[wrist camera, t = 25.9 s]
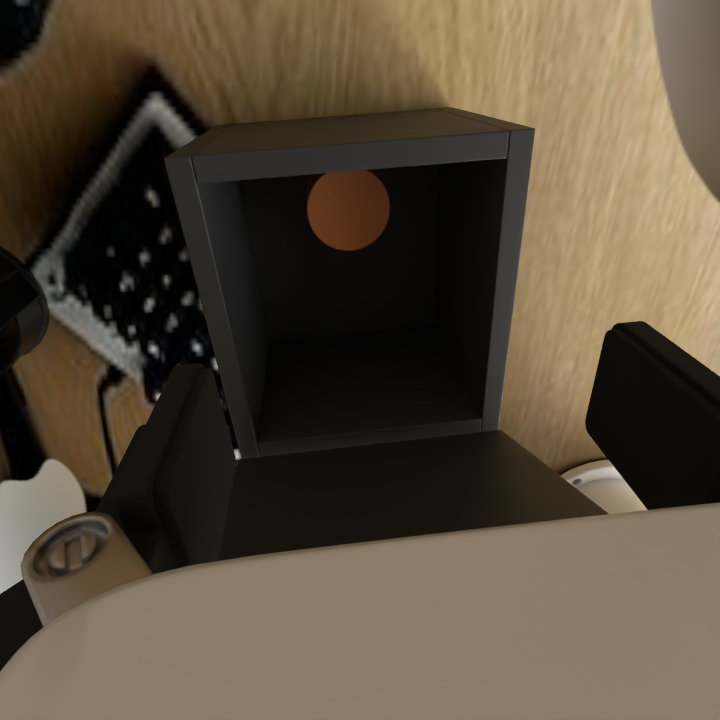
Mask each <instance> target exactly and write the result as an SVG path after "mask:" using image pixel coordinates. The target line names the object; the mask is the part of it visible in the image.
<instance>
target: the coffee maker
mask: <svg viewBox="0 0 720 720" xmlns="http://www.w3.org/2000/svg"><path fill="white" fill-rule="evenodd" d="M534 134H535V129H534V128H531V127H527V126H523V125H519V124H515V123H511V122H507V121H503V120H499V119H495V118H492V117H488V116H484V115H480V114H476V113H472V112H468V111H464V110H460V109H455V108H452V107H451V108H438V109H425V110H412V111H399V112H386V113H372V114H359V115H346V116H333V117H320V118H307V119H294V120H281V121H267V122H254V123H241V124H228V125H217V126H215V127H214V128H212V129H210V130H209V131H207V132H206V133H204V134H202V135H201V136H199V137H198V138H196V139H194V140H193V141H191V142H190V143H188V144H186V145H185V146H183V147H182V148H180V149H178V150H177V151H175V152H174V153H172V154H170V155H169V156H167V157H166V158H164V162H165V165H166V169H167V173H168V177H169V181H170V185H171V188H172V192H173V196H174V200H175V204H176V208H177V212H178V215H179V219H180V223H181V227H182V231H183V235H184V238H185V242H186V246H187V250H188V254H189V258H190V261H191V265H192V269H193V273H194V277H195V281H196V285H197V288H198V292H199V296H200V300H201V304H202V308H203V311H204V315H205V319H206V323H207V327H208V331H209V334H210V338H211V342H212V346H213V350H214V354H215V358H216V361H217V365H218V369H219V373H220V377H221V381H222V384H223V388H224V392H225V396H226V400H227V404H228V407H229V411H230V415H231V419H232V423H233V427H234V431H235V434H236V438H237V442H238V446H239V450H240V454H241V457H242V459H245V458H254V457H260V456H261V457H263V456H272V455H281V454H290V453H299V452H308V451H317V450H326V449H334V448H343V447H352V446H361V445H370V444H379V443H388V442H397V441H406V440H415V439H423V438H432V437H441V436H450V435H459V434H468V433H477V432H486V431H495V430H498V428H499V420H500V412H501V404H502V396H503V387H504V379H505V371H506V363H507V355H508V347H509V338H510V330H511V322H512V314H513V306H514V298H515V289H516V281H517V273H518V265H519V257H520V248H521V240H522V232H523V224H524V216H525V208H526V199H527V191H528V183H529V175H530V167H531V159H532V150H533V142H534ZM371 169H373V170H374V171H375V173H376V174H377V176H378V177H379V179H380V180H381V182H382V183H383V185H384V186H385V188H386V190H387V193H388V196H389V201H390V214H389V219H388V222H387V225H386V227H385V229H384V230H383V232H382V233H381V235H380V236H379V237H378V238H377V239H376V240H375V241H374V242H372V243H371V244H369V245H368V246H366V247H364V248H361V249H357V250H352V251H345V250H339V249H335V248H332V247H330V246H328V245H326V244H325V243H324V242H322V241H321V240H320V239H319V238H318V237H317V236H316V235H315V233H314V232H313V230H312V228H311V226H310V224H309V221H308V216H307V181H308V177H309V175H310V174H322V173H334V172H347V171H359V170H371Z"/></svg>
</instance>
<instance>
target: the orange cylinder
mask: <svg viewBox="0 0 720 720" xmlns="http://www.w3.org/2000/svg"><path fill="white" fill-rule="evenodd" d="M389 214H390V201H389V196H388V193H387V190H386V188H385V186H384V185H383V183H382V182H381V180H380V179H379V177H378V176H377V174H376V173H375V171H374V170H373V169H371V170H359V171H347V172H334V173H322V174H310V175H309V177H308V181H307V216H308V221H309V224H310V226H311V228H312V230H313V232H314V233H315V235H316V236H317V237H318V238H319V239H320V240H321V241H322V242H324V243H325V244H326V245H328V246H330V247H332V248H335V249H339V250H345V251H352V250H357V249H361V248H364V247H366V246H368V245H369V244H371V243H372V242H374V241H375V240H376V239H377V238H378V237H379V236H380V235H381V233H382V232H383V230H384V229H385V227H386V225H387V222H388V219H389Z"/></svg>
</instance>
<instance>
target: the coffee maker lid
mask: <svg viewBox="0 0 720 720" xmlns="http://www.w3.org/2000/svg"><path fill="white" fill-rule="evenodd" d="M607 514H609V513H607V512H606V511H605V510H604V509H602V508H601V507H600V506H598V505H597V504H596V503H595V502H593V501H592V500H591V499H589V498H588V497H587V496H586V495H584V494H583V493H582V492H580V491H579V490H578V489H576V488H575V487H574V486H573V485H571V484H570V483H569V482H567V481H566V480H565V479H564V478H562V477H561V476H560V475H558V474H557V473H556V472H555V471H553V470H552V469H551V468H549V467H548V466H547V465H545V464H544V463H543V462H542V461H540V460H539V459H538V458H536V457H535V456H534V455H533V454H531V453H530V452H529V451H527V450H526V449H525V448H524V447H522V446H521V445H520V444H518V443H517V442H516V441H514V440H513V439H512V438H511V437H509V436H508V435H507V434H505V433H504V432H503V431H502V430H495V431H486V432H477V433H468V434H459V435H450V436H441V437H432V438H423V439H415V440H406V441H397V442H388V443H379V444H370V445H361V446H352V447H343V448H334V449H326V450H317V451H308V452H299V453H290V454H281V455H272V456H263V457H254V458H245V459H240V460H239V462H238V464H237V466H236V471H235V476H234V481H233V486H232V491H231V496H230V501H229V506H228V511H227V516H226V521H225V526H224V531H223V536H222V541H221V546H220V551H219V556H218V561H222V560H229V559H235V558H242V557H248V556H255V555H262V554H270V553H278V552H286V551H294V550H302V549H310V548H319V547H327V546H335V545H344V544H352V543H361V542H369V541H378V540H386V539H395V538H403V537H412V536H420V535H428V534H437V533H446V532H455V531H463V530H472V529H481V528H490V527H499V526H507V525H516V524H525V523H534V522H543V521H552V520H561V519H570V518H579V517H588V516H598V515H607Z"/></svg>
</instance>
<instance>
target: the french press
mask: <svg viewBox="0 0 720 720" xmlns="http://www.w3.org/2000/svg"><path fill="white" fill-rule="evenodd" d="M13 318H14V320H15V324H16V327H17V331H18V336H17V337H16V338H15V339H13V340H11V341H9V342H7V343H4V344H1V345H0V376H1V375H2V374H3V373H4V372H5V371H7V370H8V369H9V368H10V367H11V366H12V365H13V364H14V363H15V362H16V361H17V360H18V359H19V358H20V357H22V356H23V355H25V354H27V353H29V352H30V351H31V350H33V349H34V348H35V347H36V346H37V345H38V344H39V343H40V342H41V340H42V338H43V337H44V335H45V333H46V330H47V327H48V323H49V309H48V305H47V300H46V297H45V295H44V293H43V290H42V288H41V286H40V285H39V283H38V282H37V280H36V279H35V277H34V276H33V274H32V273H31V272H30V271H29V270H28V269H27V268H26V267H25V266H24V264H23V263H22V262H21V261H19V260H18V259H17V258H16V257H14V256H13V255H12V254H11V253H9V252H8V251H7V250H5V249H3V248H2V247H0V330H1V329H2V328H3V327H4V326H5V325H6V324H8V323H9V322H10V321H11V320H12V319H13Z"/></svg>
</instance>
